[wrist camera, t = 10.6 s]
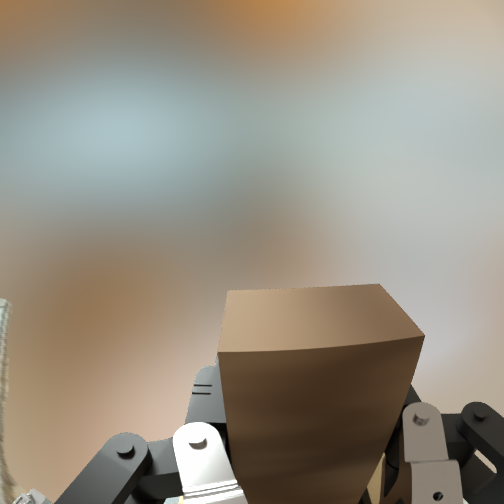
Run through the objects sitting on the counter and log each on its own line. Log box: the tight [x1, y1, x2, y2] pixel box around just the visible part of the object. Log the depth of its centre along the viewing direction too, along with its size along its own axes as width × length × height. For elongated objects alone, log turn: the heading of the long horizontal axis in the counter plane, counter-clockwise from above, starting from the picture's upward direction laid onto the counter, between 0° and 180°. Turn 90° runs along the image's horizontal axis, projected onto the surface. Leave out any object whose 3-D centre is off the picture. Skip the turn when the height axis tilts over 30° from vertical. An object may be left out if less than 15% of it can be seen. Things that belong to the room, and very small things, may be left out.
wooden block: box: [218, 284, 425, 504], centre depth 9 cm, size 4×3×10 cm, turn 90°
